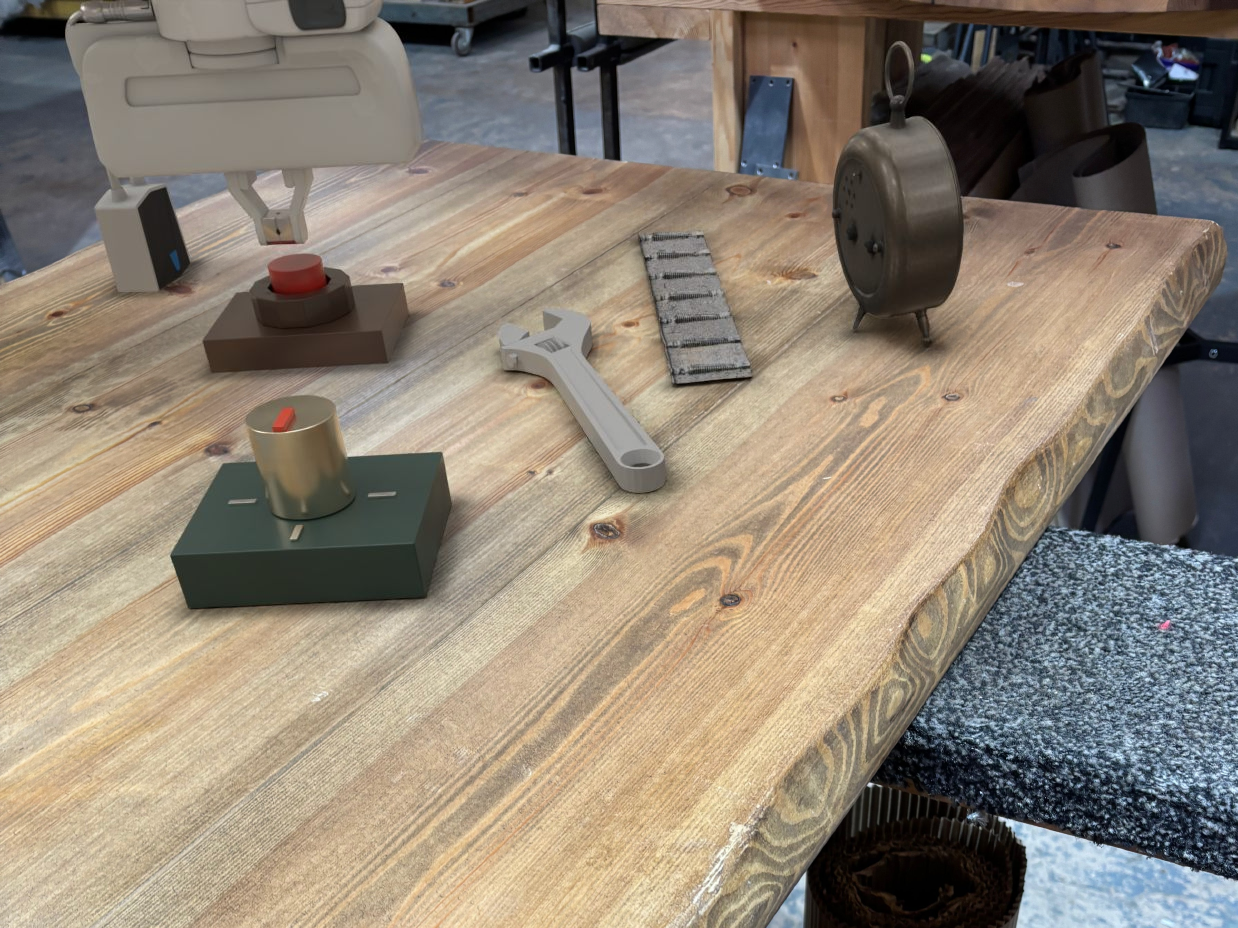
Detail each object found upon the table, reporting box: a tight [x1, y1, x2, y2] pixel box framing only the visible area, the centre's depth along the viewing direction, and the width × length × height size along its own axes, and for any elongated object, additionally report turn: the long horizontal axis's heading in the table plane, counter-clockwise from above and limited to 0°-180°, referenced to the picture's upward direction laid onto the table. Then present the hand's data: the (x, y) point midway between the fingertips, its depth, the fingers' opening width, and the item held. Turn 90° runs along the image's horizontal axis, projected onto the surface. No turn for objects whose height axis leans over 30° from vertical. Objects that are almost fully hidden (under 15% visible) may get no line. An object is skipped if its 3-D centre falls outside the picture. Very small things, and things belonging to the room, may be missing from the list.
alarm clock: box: [831, 40, 965, 348], centre depth 82 cm, size 11×5×16 cm, turn 17°
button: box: [266, 252, 327, 295], centre depth 89 cm, size 4×4×2 cm
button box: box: [201, 266, 410, 374], centre depth 91 cm, size 12×9×4 cm
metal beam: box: [637, 229, 753, 385], centre depth 93 cm, size 30×1×5 cm
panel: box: [169, 451, 453, 609], centre depth 68 cm, size 12×10×3 cm
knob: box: [244, 394, 355, 520], centre depth 66 cm, size 4×4×5 cm
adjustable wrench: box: [497, 308, 667, 494], centre depth 81 cm, size 25×6×2 cm, turn 14°
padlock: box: [79, 77, 192, 293], centre depth 99 cm, size 7×4×15 cm, turn 173°
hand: (284, 242), depth 87 cm, fingers closed
